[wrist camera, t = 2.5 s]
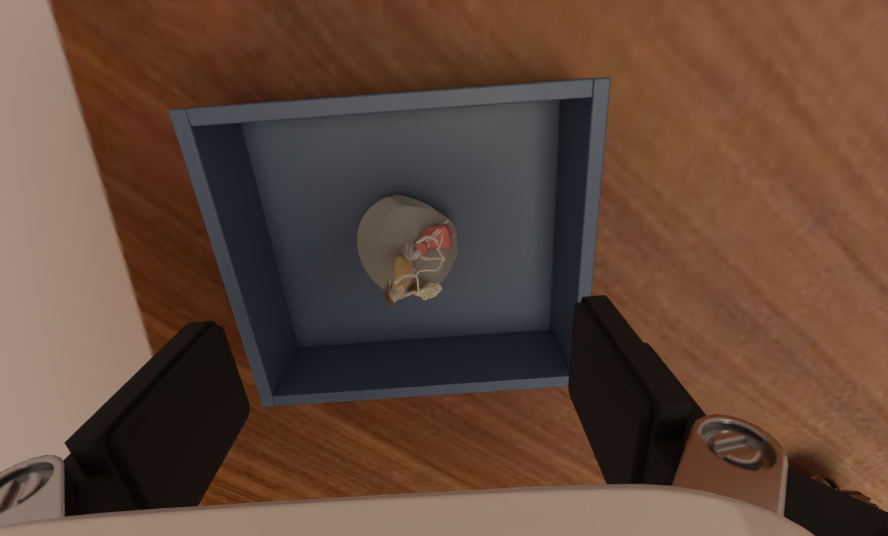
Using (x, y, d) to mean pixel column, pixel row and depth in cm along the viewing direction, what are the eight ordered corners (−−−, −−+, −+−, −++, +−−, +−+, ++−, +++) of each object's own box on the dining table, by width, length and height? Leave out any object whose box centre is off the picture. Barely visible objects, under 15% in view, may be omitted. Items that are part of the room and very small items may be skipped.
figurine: (345, 212, 20) (312, 261, 14) (425, 167, 19) (422, 200, 14) (402, 296, 22) (391, 368, 16) (476, 259, 21) (492, 320, 15)
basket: (292, 350, 24) (262, 407, 19) (228, 103, 18) (167, 109, 14) (557, 332, 24) (583, 385, 19) (570, 79, 18) (611, 77, 14)
